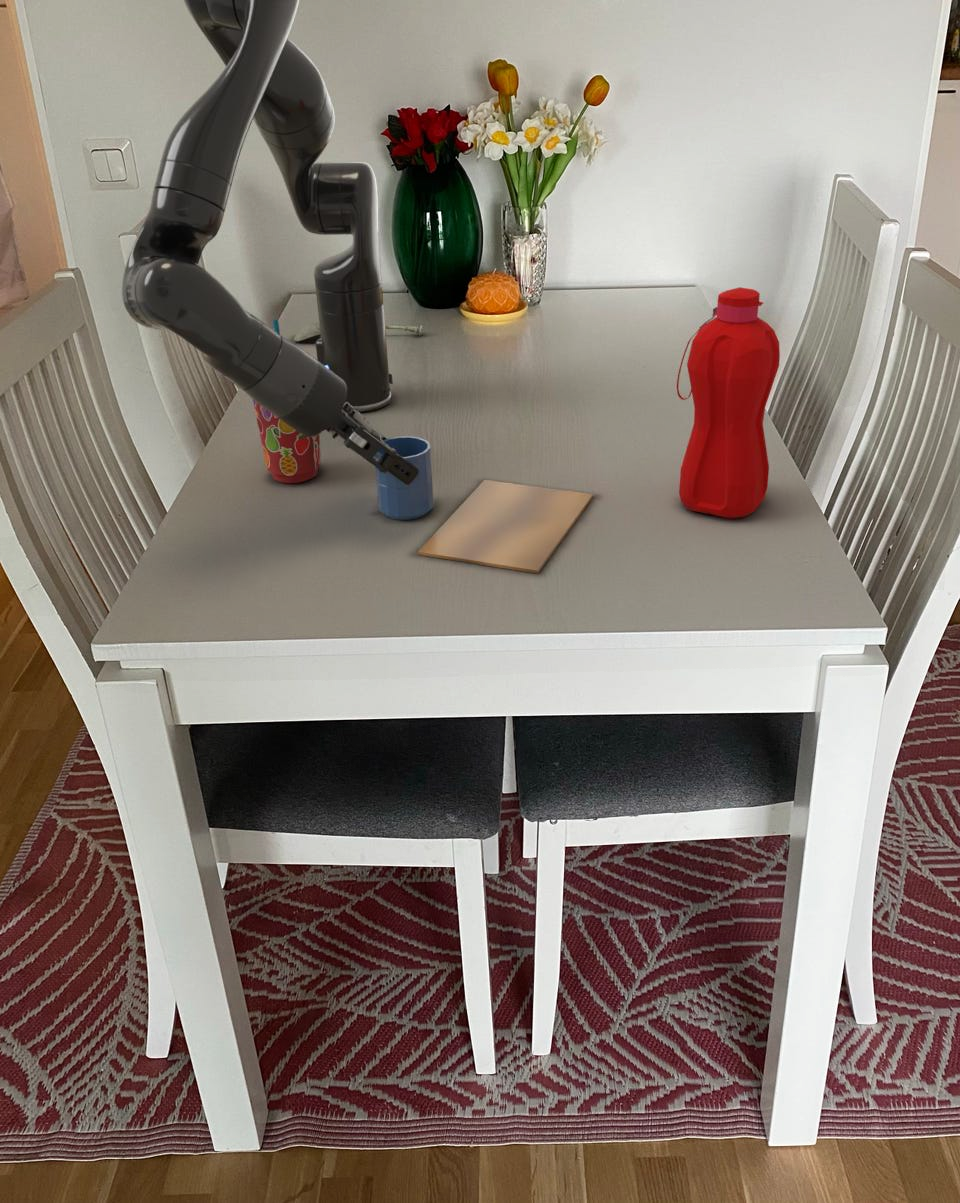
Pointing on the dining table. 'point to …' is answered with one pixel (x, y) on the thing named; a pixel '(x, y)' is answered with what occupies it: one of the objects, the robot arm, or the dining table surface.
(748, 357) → the water bottle
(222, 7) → the robot arm
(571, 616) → the dining table surface
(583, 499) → the mat
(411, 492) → the blue plastic tumbler
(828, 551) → the dining table surface
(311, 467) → the smoothie
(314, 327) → the soupspoon
